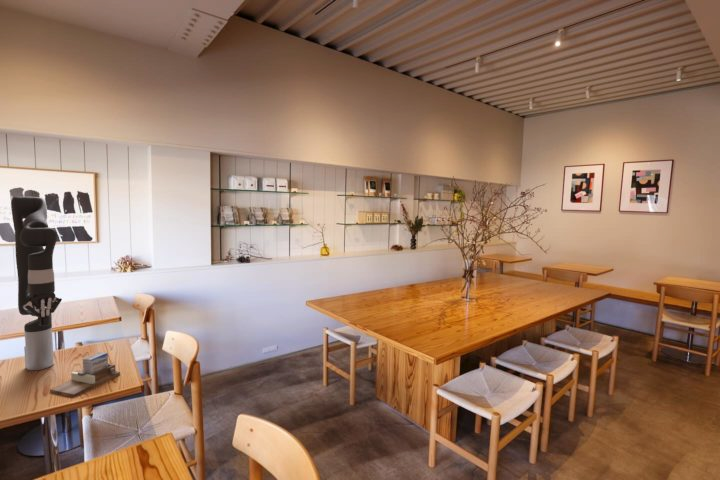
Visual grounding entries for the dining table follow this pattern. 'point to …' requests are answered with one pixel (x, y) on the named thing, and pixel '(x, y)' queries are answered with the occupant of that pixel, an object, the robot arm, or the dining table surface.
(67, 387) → the housing
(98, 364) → the medicine box
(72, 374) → the gate
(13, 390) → the dining table surface
